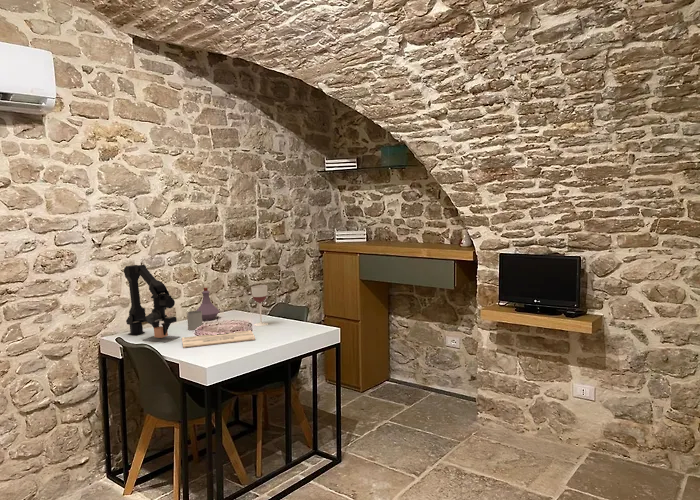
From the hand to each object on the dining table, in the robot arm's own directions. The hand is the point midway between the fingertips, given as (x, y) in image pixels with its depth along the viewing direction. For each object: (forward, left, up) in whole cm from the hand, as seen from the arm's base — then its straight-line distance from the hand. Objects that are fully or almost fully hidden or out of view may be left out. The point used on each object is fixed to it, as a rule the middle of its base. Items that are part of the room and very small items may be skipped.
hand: (161, 334), depth 304 cm
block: (0, 0, -1) cm, 1 cm away
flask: (-8, +50, -3) cm, 51 cm away
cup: (+3, +25, -3) cm, 25 cm away
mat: (0, 0, -2) cm, 2 cm away
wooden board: (+34, +6, -3) cm, 35 cm away
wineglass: (+35, +46, -2) cm, 58 cm away
